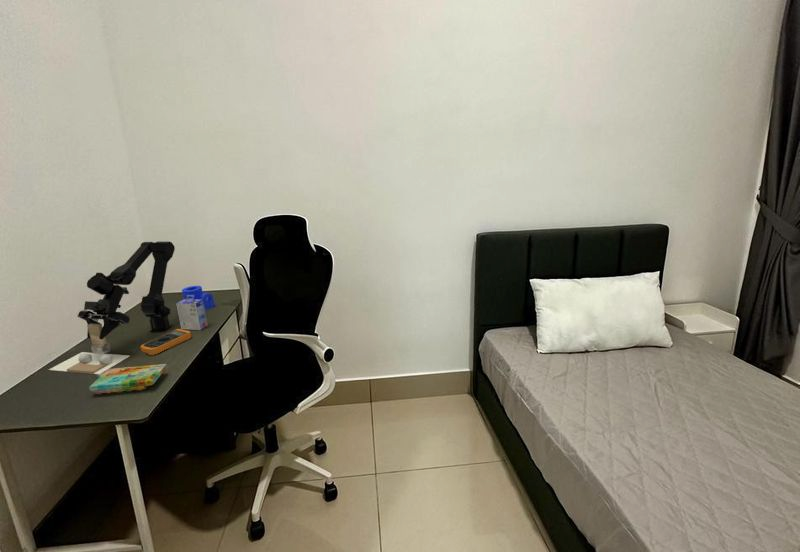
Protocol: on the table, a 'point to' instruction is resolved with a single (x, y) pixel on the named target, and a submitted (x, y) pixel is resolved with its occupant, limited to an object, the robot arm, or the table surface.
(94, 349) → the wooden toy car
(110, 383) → the puzzle game
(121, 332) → the table surface
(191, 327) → the ink cartridge box
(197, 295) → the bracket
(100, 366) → the board
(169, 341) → the multimeter
